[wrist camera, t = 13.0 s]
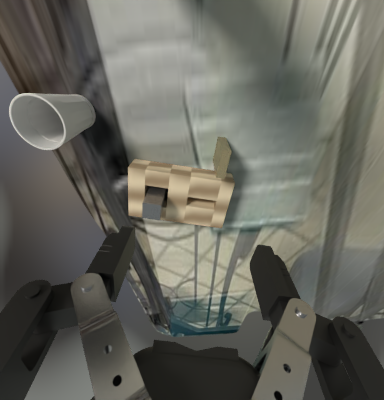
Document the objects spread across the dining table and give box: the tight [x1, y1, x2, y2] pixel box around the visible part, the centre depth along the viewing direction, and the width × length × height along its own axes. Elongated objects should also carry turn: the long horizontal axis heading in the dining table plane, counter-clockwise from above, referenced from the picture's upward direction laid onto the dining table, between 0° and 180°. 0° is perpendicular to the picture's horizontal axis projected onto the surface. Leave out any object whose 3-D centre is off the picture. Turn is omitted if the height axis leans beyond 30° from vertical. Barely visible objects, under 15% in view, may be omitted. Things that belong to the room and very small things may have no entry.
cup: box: [9, 93, 96, 150], centre depth 35 cm, size 8×8×12 cm
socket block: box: [128, 159, 235, 228], centre depth 46 cm, size 12×22×5 cm, turn 81°
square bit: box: [142, 186, 167, 220], centre depth 44 cm, size 4×4×10 cm
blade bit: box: [213, 137, 232, 179], centre depth 39 cm, size 5×2×9 cm, turn 171°
